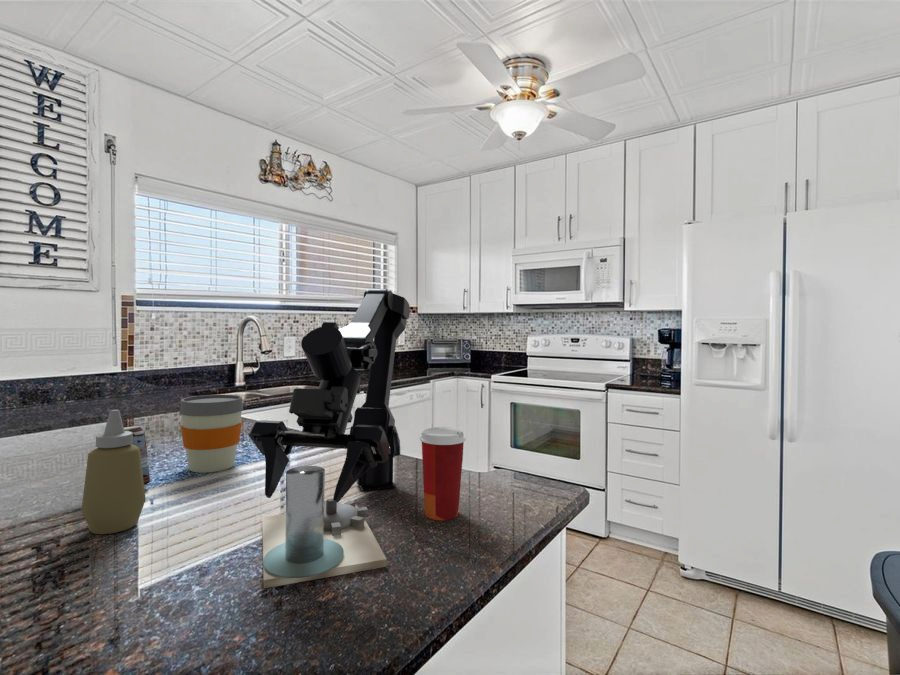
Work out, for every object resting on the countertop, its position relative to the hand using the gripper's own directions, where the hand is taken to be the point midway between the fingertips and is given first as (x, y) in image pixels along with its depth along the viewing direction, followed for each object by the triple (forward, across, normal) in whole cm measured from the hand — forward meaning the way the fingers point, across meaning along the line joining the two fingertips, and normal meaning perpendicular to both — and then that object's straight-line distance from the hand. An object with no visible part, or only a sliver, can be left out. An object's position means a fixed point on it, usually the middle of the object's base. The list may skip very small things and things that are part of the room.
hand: (301, 498), depth 61 cm
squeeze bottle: (+2, -34, +12) cm, 36 cm away
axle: (+5, 0, +6) cm, 8 cm away
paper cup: (-8, +15, +22) cm, 28 cm away
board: (+1, -1, +12) cm, 12 cm away
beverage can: (-9, -44, +22) cm, 50 cm away
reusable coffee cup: (-21, -39, +34) cm, 56 cm away
